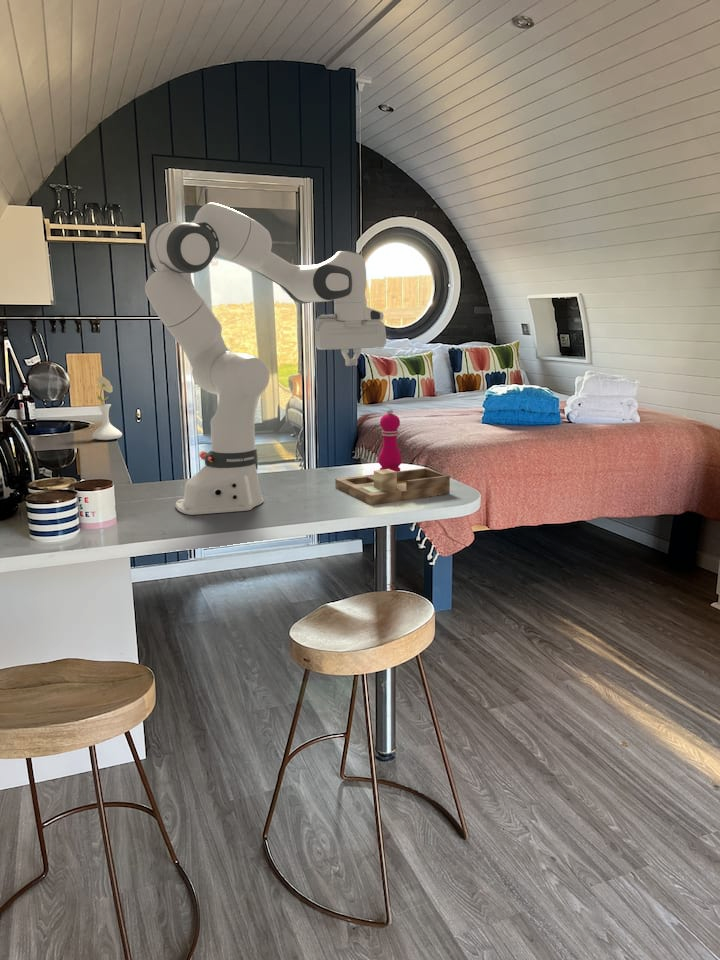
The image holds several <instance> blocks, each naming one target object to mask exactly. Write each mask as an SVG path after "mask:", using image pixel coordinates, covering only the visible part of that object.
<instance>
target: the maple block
mask: <svg viewBox="0 0 720 960" xmlns="http://www.w3.org/2000/svg"><path fill="white" fill-rule="evenodd" d="M373 474H374V487H375V488H377V489H380V490H389V489H396V488H397V472H396V471H393V470H390V469H383V470H380V469H375V470H373Z"/></svg>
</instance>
